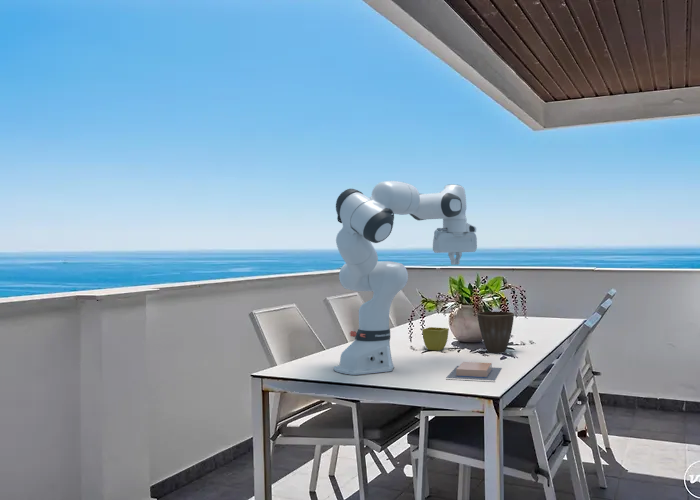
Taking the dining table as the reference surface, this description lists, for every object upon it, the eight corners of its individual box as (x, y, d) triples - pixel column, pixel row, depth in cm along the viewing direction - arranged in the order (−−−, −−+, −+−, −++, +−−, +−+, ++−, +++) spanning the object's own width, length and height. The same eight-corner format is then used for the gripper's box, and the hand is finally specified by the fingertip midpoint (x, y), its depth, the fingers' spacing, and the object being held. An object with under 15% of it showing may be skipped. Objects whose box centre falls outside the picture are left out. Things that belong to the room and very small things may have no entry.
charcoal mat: (495, 382, 210) (495, 380, 210) (445, 379, 215) (445, 377, 215) (502, 369, 231) (502, 367, 231) (457, 367, 236) (457, 365, 236)
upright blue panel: (491, 370, 227) (486, 378, 214) (463, 368, 230) (456, 376, 217) (491, 363, 227) (486, 370, 214) (463, 361, 230) (456, 369, 217)
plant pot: (497, 356, 258) (497, 316, 258) (470, 351, 270) (469, 313, 270) (522, 352, 267) (521, 313, 267) (494, 347, 279) (493, 310, 279)
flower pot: (449, 349, 278) (449, 328, 278) (441, 352, 270) (441, 330, 270) (430, 347, 282) (430, 327, 282) (422, 350, 275) (421, 329, 274)
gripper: (440, 227, 236) (441, 265, 237) (479, 227, 248) (479, 263, 249) (428, 228, 241) (429, 265, 242) (467, 228, 253) (467, 263, 254)
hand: (455, 264), depth 245 cm, fingers closed
